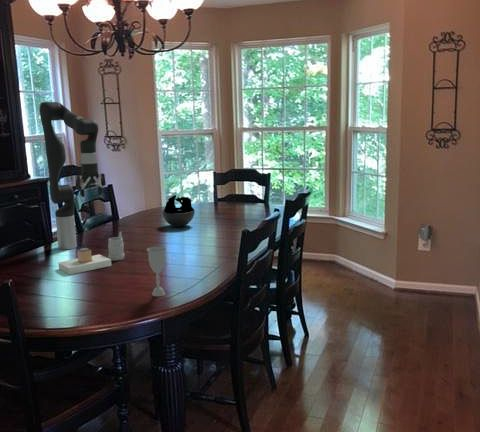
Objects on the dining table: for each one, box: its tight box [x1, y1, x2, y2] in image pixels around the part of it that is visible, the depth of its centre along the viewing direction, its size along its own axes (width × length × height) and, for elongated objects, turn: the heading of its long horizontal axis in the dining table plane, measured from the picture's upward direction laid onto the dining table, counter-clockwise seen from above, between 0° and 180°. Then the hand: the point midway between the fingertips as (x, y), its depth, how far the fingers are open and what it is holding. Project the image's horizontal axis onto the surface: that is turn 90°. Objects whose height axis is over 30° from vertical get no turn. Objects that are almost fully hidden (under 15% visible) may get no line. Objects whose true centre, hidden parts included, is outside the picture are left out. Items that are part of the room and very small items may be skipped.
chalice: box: [146, 246, 167, 297], centre depth 196 cm, size 7×7×18 cm
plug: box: [76, 247, 93, 264], centre depth 234 cm, size 5×5×9 cm
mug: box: [107, 231, 126, 262], centre depth 249 cm, size 8×12×12 cm, turn 169°
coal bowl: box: [161, 194, 196, 228], centre depth 316 cm, size 20×20×19 cm
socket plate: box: [57, 254, 112, 275], centre depth 235 cm, size 12×20×3 cm, turn 130°
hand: (91, 195), depth 248 cm, fingers open, 8 cm apart
